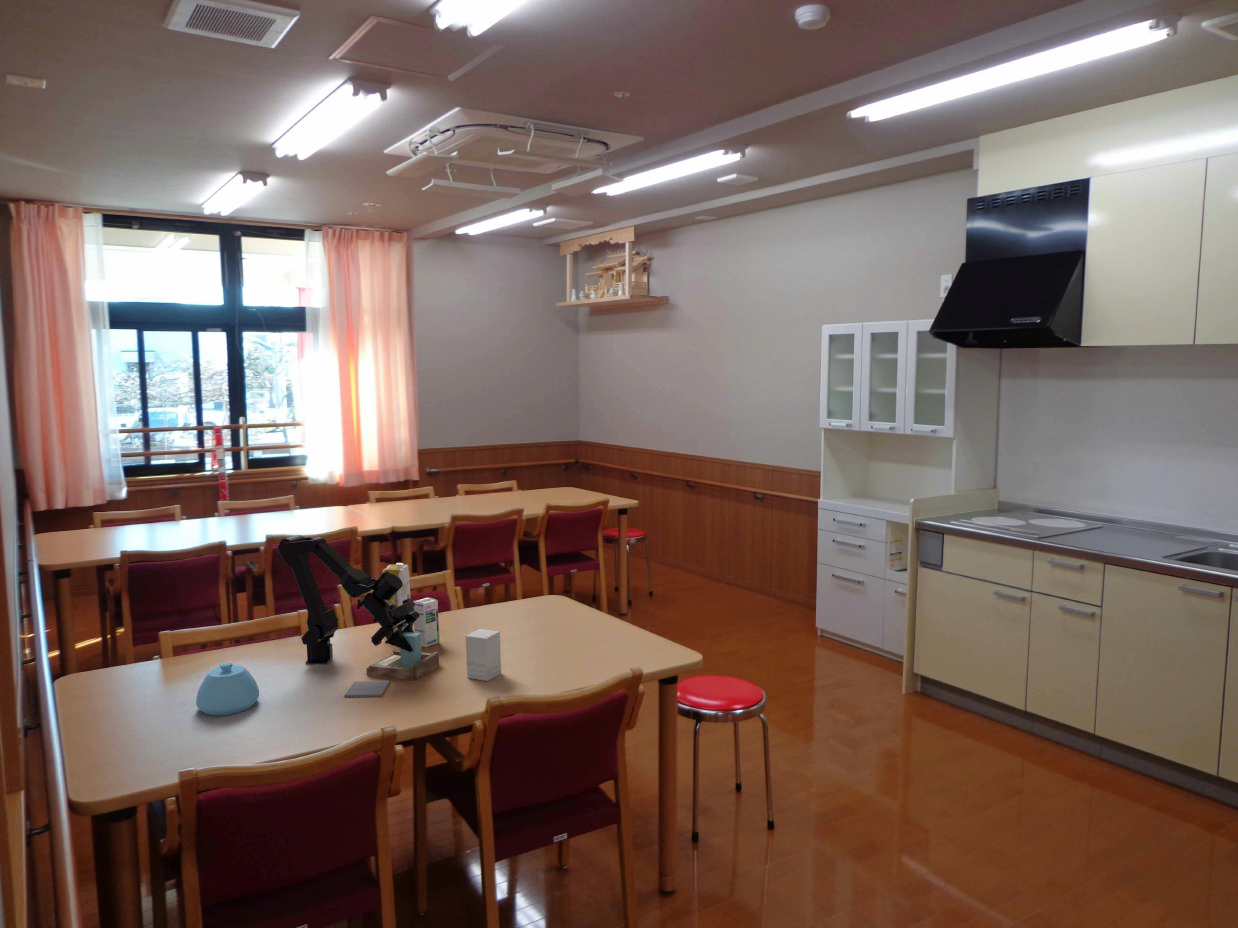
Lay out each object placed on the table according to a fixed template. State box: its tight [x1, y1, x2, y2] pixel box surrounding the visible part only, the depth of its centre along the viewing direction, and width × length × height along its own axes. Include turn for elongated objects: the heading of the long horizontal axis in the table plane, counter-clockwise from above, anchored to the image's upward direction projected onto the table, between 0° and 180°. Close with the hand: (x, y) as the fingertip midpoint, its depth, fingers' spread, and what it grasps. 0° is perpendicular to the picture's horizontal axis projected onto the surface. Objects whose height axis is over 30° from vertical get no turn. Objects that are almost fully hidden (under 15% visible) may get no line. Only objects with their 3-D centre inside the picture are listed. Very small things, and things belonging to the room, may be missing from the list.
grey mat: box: [343, 680, 391, 698], centre depth 227 cm, size 10×10×1 cm
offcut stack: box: [376, 655, 401, 667], centre depth 244 cm, size 4×10×3 cm, turn 164°
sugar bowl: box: [195, 662, 260, 717], centre depth 216 cm, size 15×15×12 cm
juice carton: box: [381, 562, 411, 607], centre depth 277 cm, size 9×8×24 cm
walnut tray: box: [366, 649, 440, 681], centre depth 243 cm, size 16×14×4 cm
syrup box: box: [412, 597, 440, 648], centre depth 266 cm, size 6×6×14 cm
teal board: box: [400, 632, 422, 669], centre depth 242 cm, size 5×3×11 cm, turn 74°
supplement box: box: [465, 628, 502, 682], centre depth 237 cm, size 7×7×13 cm
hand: (414, 649), depth 241 cm, fingers closed on teal board, 3 cm apart
